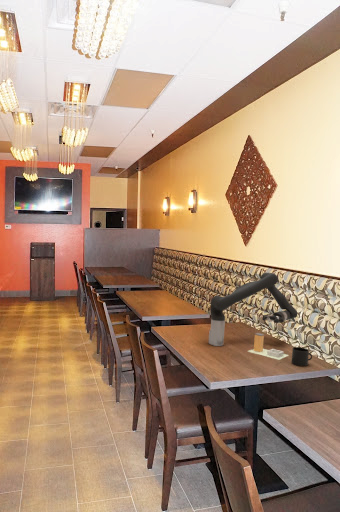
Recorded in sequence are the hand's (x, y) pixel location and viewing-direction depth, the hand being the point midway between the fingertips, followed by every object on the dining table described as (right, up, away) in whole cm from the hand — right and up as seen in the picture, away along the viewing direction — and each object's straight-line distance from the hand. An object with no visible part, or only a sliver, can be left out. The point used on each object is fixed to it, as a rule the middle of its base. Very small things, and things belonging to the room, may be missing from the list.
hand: (268, 320), depth 281 cm
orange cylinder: (-9, -19, -8) cm, 22 cm away
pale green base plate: (-4, -21, -12) cm, 24 cm away
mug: (+14, -23, -26) cm, 37 cm away
